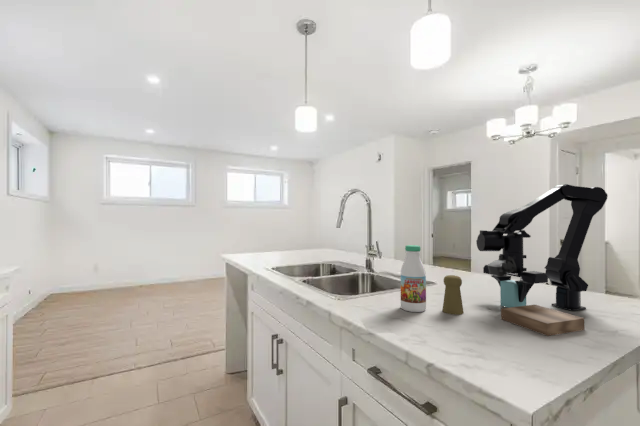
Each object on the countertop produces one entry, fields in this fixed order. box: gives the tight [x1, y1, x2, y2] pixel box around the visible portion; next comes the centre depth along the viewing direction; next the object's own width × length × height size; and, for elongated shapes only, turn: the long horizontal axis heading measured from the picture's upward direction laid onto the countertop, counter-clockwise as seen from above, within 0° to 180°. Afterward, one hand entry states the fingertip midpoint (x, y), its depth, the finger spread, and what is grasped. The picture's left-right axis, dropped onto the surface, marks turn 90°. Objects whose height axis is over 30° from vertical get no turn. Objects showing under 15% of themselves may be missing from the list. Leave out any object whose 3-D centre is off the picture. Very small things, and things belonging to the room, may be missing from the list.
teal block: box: [499, 279, 527, 308], centre depth 99 cm, size 5×5×8 cm
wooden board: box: [500, 304, 586, 337], centre depth 83 cm, size 13×13×3 cm
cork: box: [442, 274, 464, 316], centre depth 94 cm, size 6×6×11 cm
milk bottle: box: [400, 244, 427, 313], centre depth 97 cm, size 8×8×20 cm
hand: (513, 299), depth 99 cm, fingers closed on teal block, 5 cm apart
